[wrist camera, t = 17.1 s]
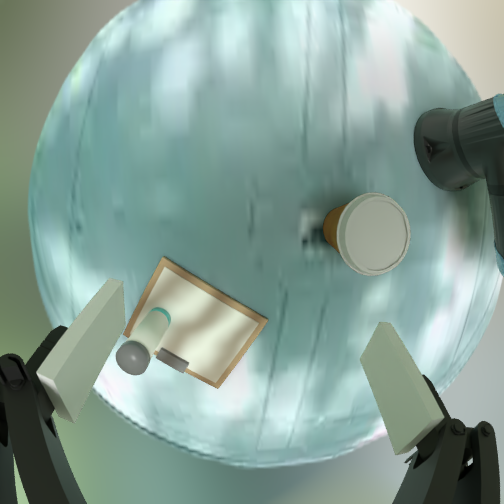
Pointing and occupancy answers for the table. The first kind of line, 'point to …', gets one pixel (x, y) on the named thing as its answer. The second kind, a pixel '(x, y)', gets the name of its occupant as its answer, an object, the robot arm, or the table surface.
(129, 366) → the ball
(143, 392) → the table surface
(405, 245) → the disposable coffee cup
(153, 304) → the clipboard
